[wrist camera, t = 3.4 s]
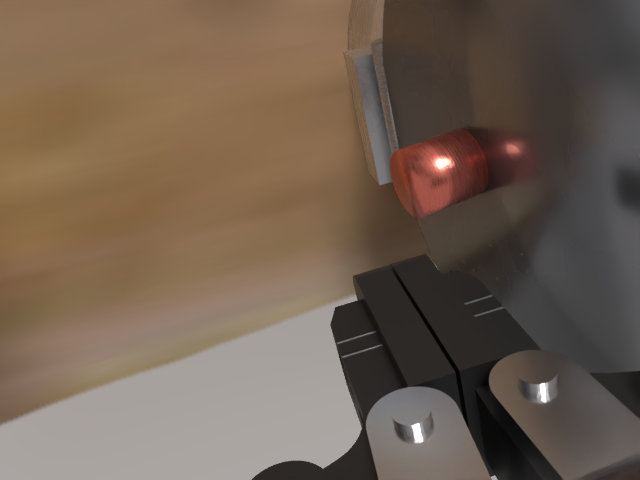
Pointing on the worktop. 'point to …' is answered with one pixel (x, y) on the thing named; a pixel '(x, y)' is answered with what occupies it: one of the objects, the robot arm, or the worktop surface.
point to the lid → (525, 158)
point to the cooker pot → (368, 85)
